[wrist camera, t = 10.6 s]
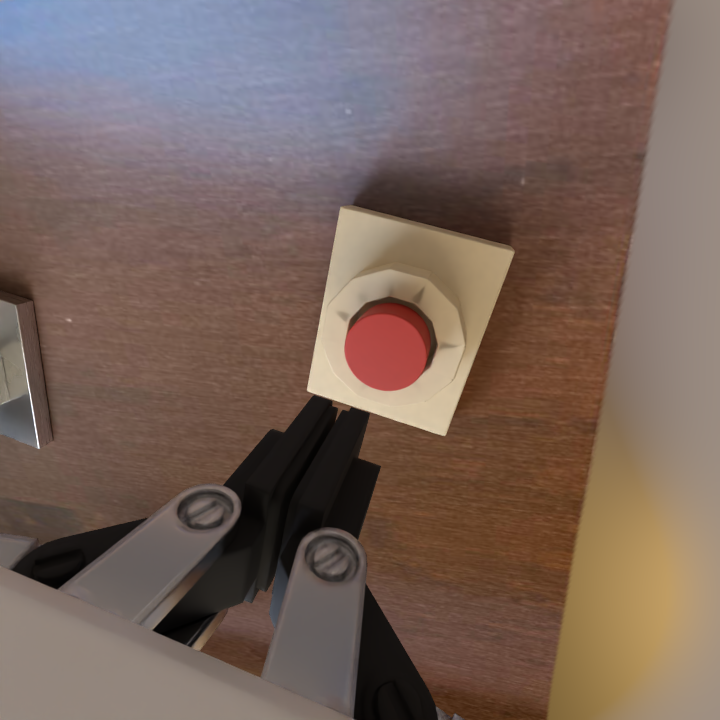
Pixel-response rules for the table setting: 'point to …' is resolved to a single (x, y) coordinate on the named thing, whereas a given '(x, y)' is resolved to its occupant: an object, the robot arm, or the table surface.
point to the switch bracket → (22, 374)
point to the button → (388, 347)
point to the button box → (417, 291)
